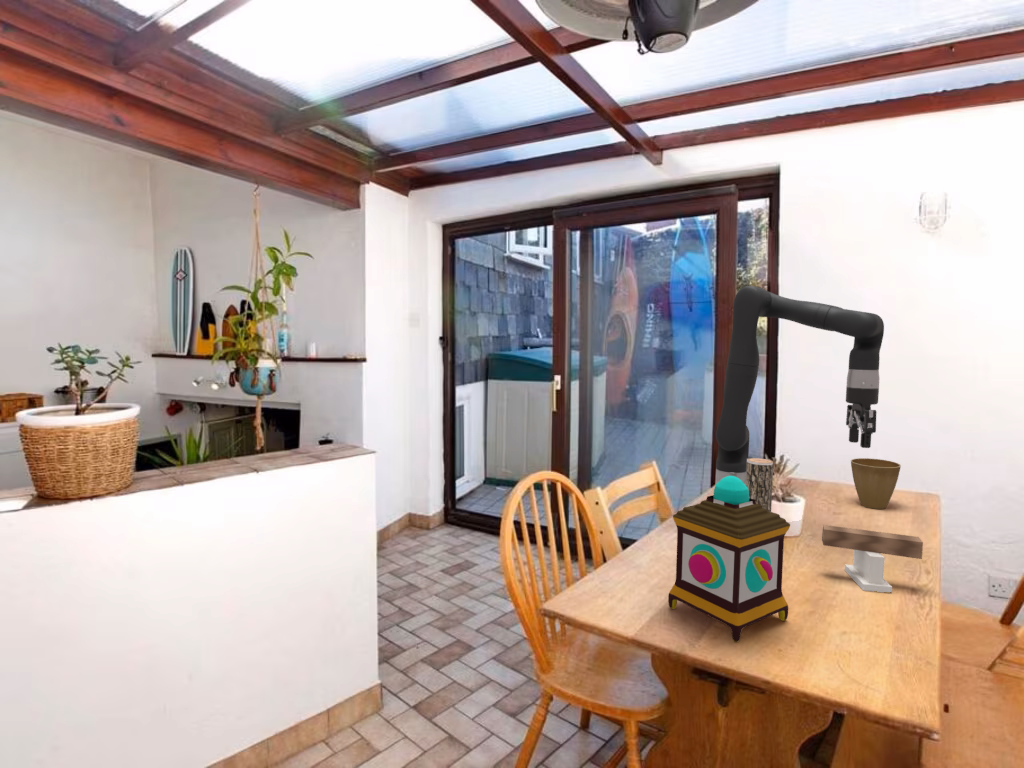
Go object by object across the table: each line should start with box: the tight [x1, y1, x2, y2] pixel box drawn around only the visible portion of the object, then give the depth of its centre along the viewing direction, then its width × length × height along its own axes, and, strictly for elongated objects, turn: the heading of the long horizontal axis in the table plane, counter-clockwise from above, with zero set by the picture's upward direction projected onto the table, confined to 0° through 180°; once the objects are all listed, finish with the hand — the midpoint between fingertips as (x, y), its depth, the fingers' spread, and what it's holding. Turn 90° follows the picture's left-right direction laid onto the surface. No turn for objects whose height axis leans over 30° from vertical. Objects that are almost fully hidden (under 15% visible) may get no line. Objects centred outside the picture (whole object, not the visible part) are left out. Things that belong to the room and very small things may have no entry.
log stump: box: [746, 457, 774, 512], centre depth 156 cm, size 7×7×25 cm
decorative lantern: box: [667, 476, 791, 643], centre depth 117 cm, size 20×20×30 cm
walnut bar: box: [821, 524, 924, 560], centre depth 134 cm, size 20×4×4 cm, turn 65°
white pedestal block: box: [844, 550, 893, 593], centre depth 135 cm, size 6×12×8 cm, turn 167°
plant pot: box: [850, 457, 902, 510], centre depth 197 cm, size 15×15×16 cm
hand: (859, 444), depth 152 cm, fingers open, 8 cm apart
